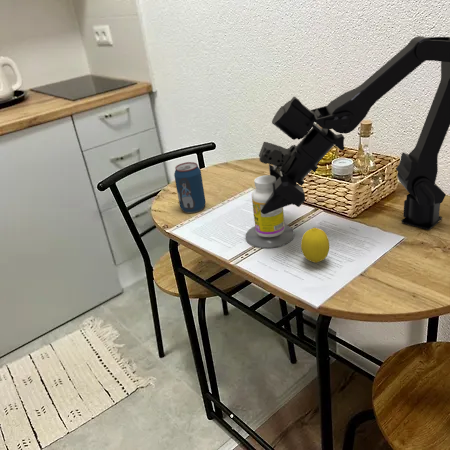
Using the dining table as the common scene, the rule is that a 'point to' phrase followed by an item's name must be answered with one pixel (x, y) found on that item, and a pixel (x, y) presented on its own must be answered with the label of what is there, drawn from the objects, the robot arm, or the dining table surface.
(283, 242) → the coaster
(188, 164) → the soda can
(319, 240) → the lemon
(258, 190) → the supplement bottle
